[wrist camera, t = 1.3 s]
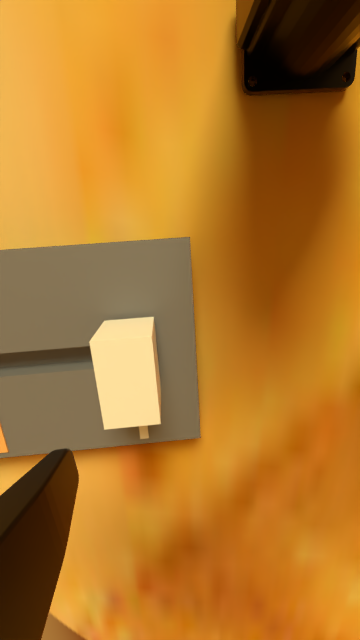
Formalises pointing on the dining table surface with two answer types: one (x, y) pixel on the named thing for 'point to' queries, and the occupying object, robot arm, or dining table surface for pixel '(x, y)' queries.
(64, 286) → the console
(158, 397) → the fader
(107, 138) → the dining table surface
